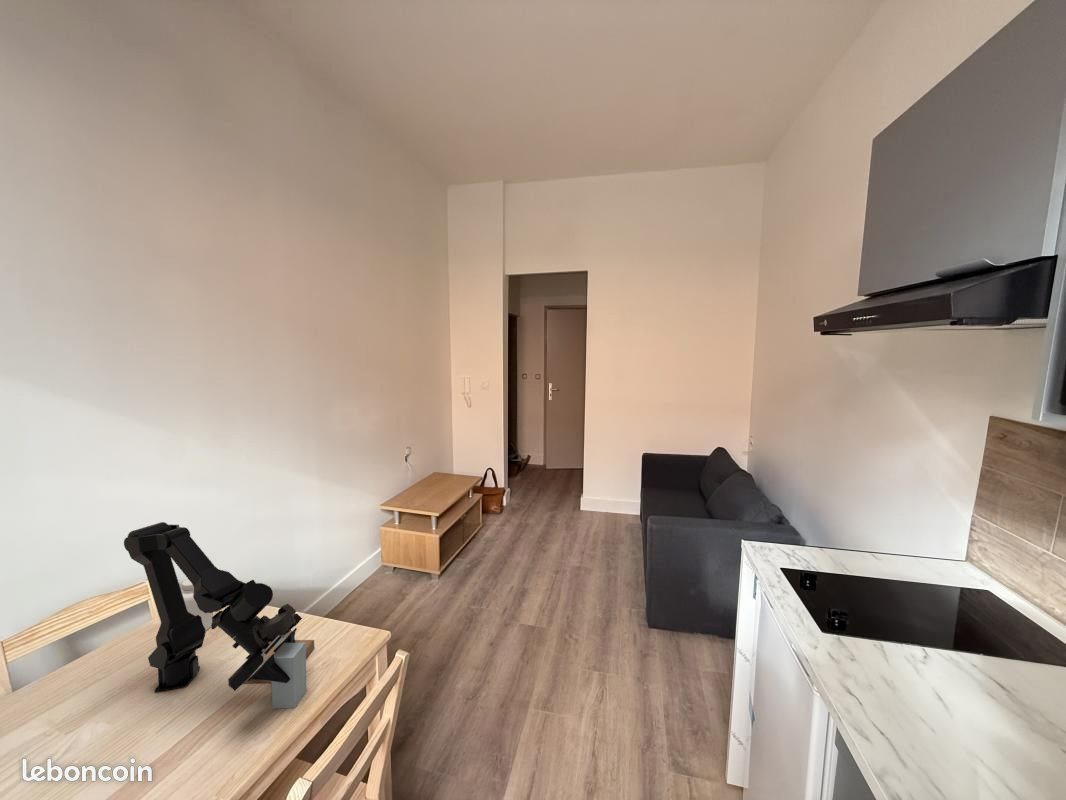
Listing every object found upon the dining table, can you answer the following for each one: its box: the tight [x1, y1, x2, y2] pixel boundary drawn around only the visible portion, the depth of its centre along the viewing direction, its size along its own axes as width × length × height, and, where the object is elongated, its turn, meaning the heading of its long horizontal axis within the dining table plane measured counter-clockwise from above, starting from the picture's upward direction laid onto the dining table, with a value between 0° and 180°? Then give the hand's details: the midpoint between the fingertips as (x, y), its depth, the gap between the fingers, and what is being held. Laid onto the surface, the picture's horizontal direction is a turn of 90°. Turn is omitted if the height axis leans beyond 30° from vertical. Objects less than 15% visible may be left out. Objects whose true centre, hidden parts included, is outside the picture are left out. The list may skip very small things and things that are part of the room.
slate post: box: [271, 643, 308, 709], centre depth 91 cm, size 5×5×12 cm
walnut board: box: [243, 639, 315, 684], centre depth 102 cm, size 12×12×2 cm
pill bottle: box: [181, 578, 214, 631], centre depth 115 cm, size 8×8×15 cm
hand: (295, 672), depth 91 cm, fingers closed on slate post, 5 cm apart
